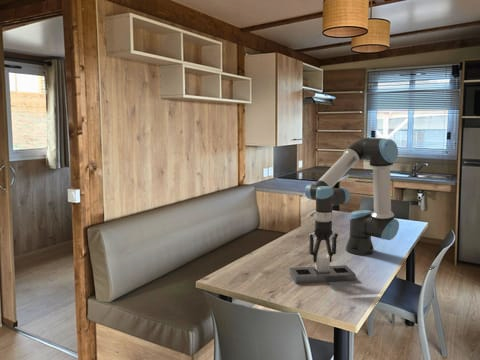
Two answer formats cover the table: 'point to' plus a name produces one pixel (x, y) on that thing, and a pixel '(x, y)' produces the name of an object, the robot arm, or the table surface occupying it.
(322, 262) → the steel block
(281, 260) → the table surface
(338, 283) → the slate pad
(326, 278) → the grey slotted block
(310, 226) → the table surface
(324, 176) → the robot arm
